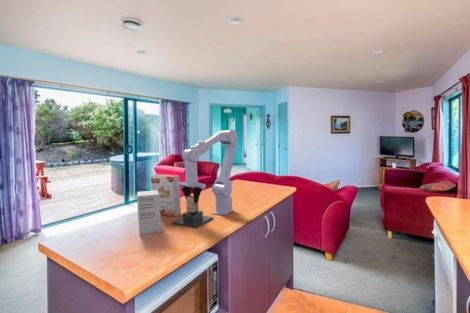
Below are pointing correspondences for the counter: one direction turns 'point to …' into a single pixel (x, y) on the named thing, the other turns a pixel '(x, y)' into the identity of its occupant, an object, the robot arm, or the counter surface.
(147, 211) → the supplement box
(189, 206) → the birch post
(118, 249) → the counter surface
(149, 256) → the counter surface
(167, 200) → the cracker box
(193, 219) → the stand
